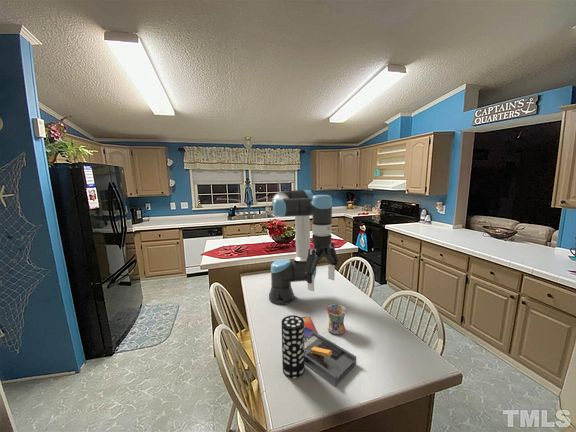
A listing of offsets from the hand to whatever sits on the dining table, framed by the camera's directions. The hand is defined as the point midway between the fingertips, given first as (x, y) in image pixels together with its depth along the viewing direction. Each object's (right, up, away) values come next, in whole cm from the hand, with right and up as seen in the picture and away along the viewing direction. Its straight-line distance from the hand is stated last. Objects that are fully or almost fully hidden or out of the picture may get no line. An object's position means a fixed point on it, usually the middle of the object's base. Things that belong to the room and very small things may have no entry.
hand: (321, 284), depth 99 cm
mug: (+9, -26, +17) cm, 33 cm away
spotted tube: (-12, -31, -7) cm, 34 cm away
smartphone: (-5, -27, +19) cm, 33 cm away
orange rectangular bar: (-1, -26, -5) cm, 26 cm away
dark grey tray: (0, -29, -2) cm, 30 cm away
